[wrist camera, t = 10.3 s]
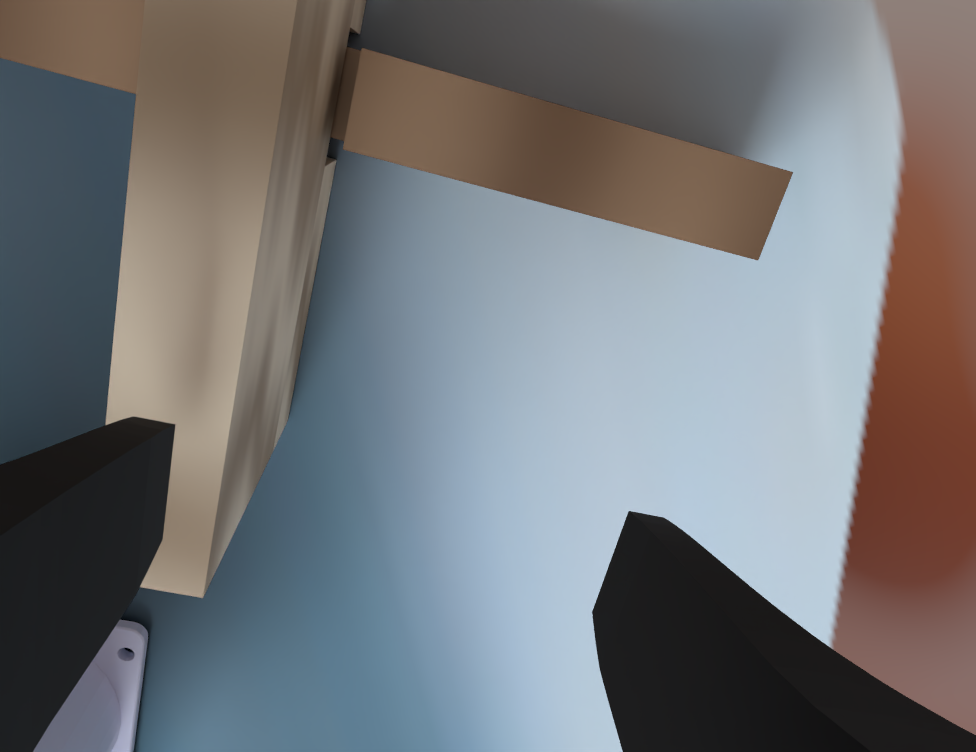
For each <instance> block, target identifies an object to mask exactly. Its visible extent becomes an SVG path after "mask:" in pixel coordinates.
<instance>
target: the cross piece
mask: <svg viewBox="0 0 976 752" xmlns="http://www.w3.org/2000/svg"><path fill="white" fill-rule="evenodd" d="M365 5H366V0H145V4H144V15H143V26H142V37H141V47H140V58H139V69H138V80H137V90H136V101H135V112H134V123H133V134H132V144H131V155H130V166H129V177H128V187H127V198H126V209H125V220H124V230H123V241H122V252H121V263H120V274H119V284H118V295H117V306H116V317H115V327H114V338H113V349H112V360H111V371H110V381H109V392H108V403H107V414H106V424H105V425H108V424H110V423H113V422H116V421H119V420H122V419H125V418H129V417H133V416H135V417H140V418H145V419H150V420H156V421H161V422H166V423H171V424H176V425H175V434H174V443H173V452H172V461H171V470H170V479H169V487H168V496H167V505H166V514H165V523H164V532H163V540H162V542H161V544H160V546H159V548H158V550H157V553H156V555H155V557H154V559H153V561H152V563H151V565H150V567H149V570H148V572H147V574H146V576H145V578H144V580H143V582H142V584H141V586H140V587H142V588H148V589H154V590H160V591H165V592H171V593H177V594H183V595H189V596H194V597H200V598H203V597H204V595H205V593H206V591H207V589H208V587H209V584H210V582H211V580H212V578H213V576H214V574H215V572H216V570H217V568H218V566H219V563H220V561H221V559H222V557H223V555H224V553H225V551H226V549H227V547H228V545H229V543H230V540H231V538H232V536H233V534H234V532H235V530H236V528H237V526H238V524H239V522H240V520H241V517H242V515H243V513H244V511H245V509H246V507H247V505H248V503H249V501H250V499H251V496H252V494H253V492H254V490H255V488H256V486H257V484H258V482H259V480H260V478H261V476H262V473H263V471H264V469H265V467H266V465H267V463H268V461H269V459H270V457H271V455H272V452H273V450H274V448H275V446H276V444H277V442H278V440H279V438H280V436H281V434H282V432H283V429H284V427H285V425H286V423H287V421H288V417H289V412H290V406H291V401H292V396H293V390H294V385H295V380H296V374H297V369H298V364H299V358H300V353H301V348H302V342H303V337H304V331H305V326H306V321H307V315H308V310H309V305H310V299H311V294H312V289H313V283H314V278H315V273H316V267H317V262H318V257H319V251H320V246H321V241H322V235H323V230H324V225H325V219H326V214H327V208H328V203H329V198H330V192H331V187H332V182H333V176H334V171H335V166H336V159H332V158H328V157H327V152H328V146H329V141H330V135H331V130H332V125H333V119H334V114H335V108H336V103H337V97H338V92H339V86H340V81H341V75H342V70H343V64H344V59H345V53H346V48H347V42H348V37H349V32H353V33H356V34H359V35H360V32H361V27H362V21H363V16H364V11H365Z"/></svg>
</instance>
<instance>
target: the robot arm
mask: <svg viewBox="0 0 976 752" xmlns="http://www.w3.org/2000/svg"><path fill="white" fill-rule="evenodd" d="M175 425H176V424H171V423H166V422H161V421H156V420H150V419H145V418H140V417H135V416H133V417H129V418H125V419H122V420H119V421H116V422H113V423H110V424H108V425H105V426H102V427H100V428H97V429H94V430H92V431H89V432H87V433H84V434H82V435H79V436H76V437H74V438H71V439H69V440H66V441H63V442H61V443H58V444H56V445H53V446H50V447H48V448H45V449H43V450H40V451H37V452H35V453H32V454H29V455H27V456H24V457H21V458H19V459H16V460H13V461H10V462H7V463H4V464H1V465H0V752H133V751H134V744H135V736H136V728H137V720H138V712H139V705H140V697H141V689H142V681H143V674H144V666H145V658H146V650H147V642H148V632H147V630H146V629H145V627H143V626H142V625H141V624H139V623H136V622H132V621H126V620H120V619H121V617H122V616H123V614H124V612H125V611H126V609H127V608H128V606H129V605H130V603H131V602H132V600H133V599H134V597H135V596H136V594H137V592H138V590H139V588H140V586H141V584H142V582H143V580H144V578H145V576H146V574H147V572H148V570H149V567H150V565H151V563H152V561H153V559H154V557H155V555H156V553H157V550H158V548H159V546H160V544H161V542H162V540H163V532H164V523H165V514H166V505H167V496H168V487H169V479H170V470H171V461H172V452H173V443H174V434H175ZM592 614H593V623H594V631H595V640H596V647H597V654H598V660H599V667H600V671H601V675H602V679H603V683H604V686H605V690H606V694H607V697H608V701H609V705H610V708H611V712H612V715H613V719H614V722H615V726H616V729H617V733H618V736H619V740H620V743H621V747H622V750H623V752H976V735H974V734H972V733H970V732H968V731H966V730H965V729H963V728H961V727H959V726H957V725H955V724H953V723H952V722H950V721H948V720H946V719H945V718H943V717H941V716H939V715H938V714H936V713H934V712H932V711H930V710H928V709H927V708H925V707H923V706H922V705H920V704H918V703H916V702H914V701H913V700H911V699H909V698H908V697H906V696H904V695H903V694H901V693H899V692H898V691H896V690H894V689H893V688H891V687H889V686H888V685H886V684H884V683H883V682H881V681H880V680H878V679H876V678H875V677H873V676H872V675H870V674H869V673H867V672H866V671H864V670H863V669H861V668H860V667H858V666H856V665H855V664H853V663H852V662H851V661H849V660H848V659H846V658H845V657H843V656H842V655H840V654H839V653H837V652H836V651H834V650H833V649H831V648H830V647H828V646H827V645H826V644H824V643H823V642H821V641H820V640H819V639H817V638H816V637H814V636H813V635H812V634H810V633H809V632H808V631H806V630H805V629H804V628H802V627H801V626H800V625H798V624H797V623H796V622H795V621H793V620H792V619H791V618H789V617H788V616H787V615H785V614H784V613H783V612H781V611H780V610H779V609H777V608H776V607H775V606H774V605H772V604H771V603H770V602H769V601H767V600H766V599H765V598H764V597H762V596H761V595H760V594H759V593H758V592H756V591H755V590H754V589H753V588H751V587H750V586H749V585H748V584H747V583H745V582H744V581H743V580H742V579H741V578H739V577H738V576H737V575H736V574H735V573H733V572H732V571H731V570H730V569H729V568H727V567H726V566H725V565H724V564H723V563H721V562H720V561H719V560H718V559H717V558H716V557H714V556H713V555H712V554H711V553H710V552H708V551H707V550H706V549H705V548H704V547H702V546H701V545H700V544H699V543H698V542H696V541H695V540H694V539H693V538H691V537H690V536H689V535H688V534H686V533H685V532H684V531H682V530H681V529H680V528H678V527H677V526H676V525H674V524H673V523H671V522H670V521H668V520H667V519H665V518H663V517H657V516H652V515H647V514H642V513H637V512H631V511H629V512H628V515H627V517H626V520H625V523H624V526H623V529H622V531H621V534H620V537H619V540H618V542H617V545H616V548H615V551H614V553H613V556H612V559H611V562H610V564H609V567H608V570H607V573H606V575H605V578H604V581H603V584H602V587H601V589H600V592H599V595H598V598H597V600H596V603H595V606H594V609H593V611H592ZM124 648H129V649H131V650H132V651H133V652H129V651H126V650H125V649H124Z"/></svg>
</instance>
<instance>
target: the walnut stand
mask: <svg viewBox="0 0 976 752" xmlns="http://www.w3.org/2000/svg"><path fill="white" fill-rule="evenodd" d="M144 4H145V0H0V58H3V59H7V60H10V61H14V62H18V63H22V64H25V65H29V66H33V67H37V68H40V69H44V70H48V71H52V72H55V73H59V74H63V75H67V76H70V77H74V78H78V79H81V80H85V81H89V82H93V83H96V84H100V85H104V86H108V87H111V88H115V89H119V90H123V91H126V92H130V93H134V94H136V90H137V80H138V69H139V58H140V47H141V37H142V26H143V15H144ZM330 137H331V138H334V139H338V140H342V141H344V145H343V150H347V151H351V152H354V153H358V154H362V155H366V156H369V157H373V158H377V159H381V160H384V161H388V162H392V163H396V164H399V165H403V166H407V167H411V168H414V169H418V170H422V171H426V172H429V173H433V174H437V175H440V176H444V177H448V178H452V179H455V180H459V181H463V182H467V183H470V184H474V185H478V186H482V187H485V188H489V189H493V190H497V191H500V192H504V193H508V194H512V195H515V196H519V197H523V198H526V199H530V200H534V201H538V202H541V203H545V204H549V205H553V206H556V207H560V208H564V209H568V210H571V211H575V212H579V213H583V214H586V215H590V216H594V217H598V218H601V219H605V220H609V221H613V222H616V223H620V224H624V225H627V226H631V227H635V228H639V229H642V230H646V231H650V232H654V233H657V234H661V235H665V236H669V237H672V238H676V239H680V240H684V241H687V242H691V243H695V244H699V245H702V246H706V247H710V248H713V249H717V250H721V251H725V252H728V253H732V254H736V255H740V256H743V257H747V258H751V259H755V260H758V259H759V257H760V254H761V252H762V249H763V247H764V244H765V242H766V239H767V237H768V234H769V232H770V229H771V227H772V224H773V222H774V219H775V217H776V214H777V211H778V209H779V206H780V204H781V201H782V199H783V196H784V194H785V191H786V189H787V186H788V184H789V181H790V179H791V176H792V174H793V172H790V171H787V170H783V169H780V168H776V167H773V166H769V165H766V164H762V163H759V162H755V161H752V160H749V159H745V158H742V157H738V156H735V155H731V154H728V153H724V152H721V151H717V150H714V149H710V148H707V147H704V146H700V145H697V144H693V143H690V142H686V141H683V140H679V139H676V138H672V137H669V136H666V135H662V134H659V133H655V132H652V131H648V130H645V129H641V128H638V127H634V126H631V125H627V124H624V123H621V122H617V121H614V120H610V119H607V118H603V117H600V116H596V115H593V114H589V113H586V112H582V111H579V110H576V109H572V108H569V107H565V106H562V105H558V104H555V103H551V102H548V101H544V100H541V99H537V98H534V97H531V96H527V95H524V94H520V93H517V92H513V91H510V90H506V89H503V88H499V87H496V86H492V85H489V84H486V83H482V82H479V81H475V80H472V79H468V78H465V77H461V76H458V75H454V74H451V73H448V72H444V71H441V70H437V69H434V68H430V67H427V66H423V65H420V64H416V63H413V62H409V61H406V60H403V59H399V58H396V57H392V56H389V55H385V54H382V53H378V52H375V51H371V50H368V49H364V48H362V50H357V49H354V48H350V47H347V48H346V53H345V59H344V64H343V70H342V75H341V81H340V86H339V92H338V97H337V103H336V108H335V114H334V119H333V125H332V130H331V135H330Z"/></svg>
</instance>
